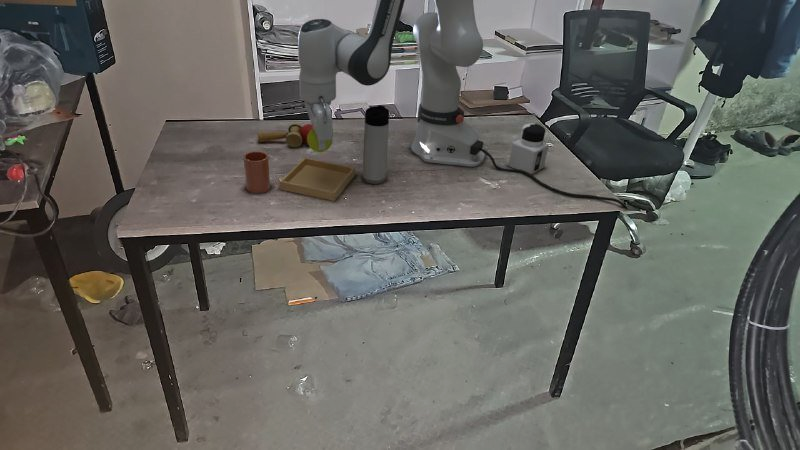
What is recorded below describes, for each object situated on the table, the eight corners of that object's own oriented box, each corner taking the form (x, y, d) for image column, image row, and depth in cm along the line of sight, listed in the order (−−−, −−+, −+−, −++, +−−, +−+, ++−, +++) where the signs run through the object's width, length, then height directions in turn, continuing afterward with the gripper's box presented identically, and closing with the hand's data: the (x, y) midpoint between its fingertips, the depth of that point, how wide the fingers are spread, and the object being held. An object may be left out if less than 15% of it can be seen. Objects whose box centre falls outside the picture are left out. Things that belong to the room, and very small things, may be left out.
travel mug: (389, 175, 156) (393, 107, 145) (380, 186, 151) (384, 116, 140) (368, 171, 158) (370, 103, 147) (359, 181, 152) (361, 111, 142)
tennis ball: (336, 147, 148) (335, 125, 144) (326, 158, 142) (326, 134, 139) (313, 143, 149) (312, 121, 145) (303, 154, 144) (302, 130, 140)
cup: (274, 184, 148) (272, 153, 143) (263, 195, 143) (260, 163, 138) (253, 180, 149) (251, 149, 144) (242, 190, 144) (239, 159, 139)
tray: (355, 175, 155) (355, 167, 154) (334, 201, 143) (334, 192, 141) (304, 165, 158) (304, 157, 157) (279, 189, 146) (279, 181, 145)
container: (543, 167, 167) (553, 127, 160) (530, 175, 162) (539, 134, 155) (521, 158, 171) (530, 118, 164) (507, 166, 166) (515, 125, 159)
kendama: (258, 152, 166) (319, 146, 166) (254, 131, 163) (316, 125, 164) (262, 145, 173) (321, 139, 173) (259, 125, 171) (318, 119, 171)
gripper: (339, 105, 129) (339, 159, 137) (323, 76, 146) (324, 125, 153) (311, 106, 128) (313, 161, 135) (299, 77, 144) (301, 127, 152)
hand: (319, 142), depth 144 cm, fingers closed on tennis ball, 6 cm apart
